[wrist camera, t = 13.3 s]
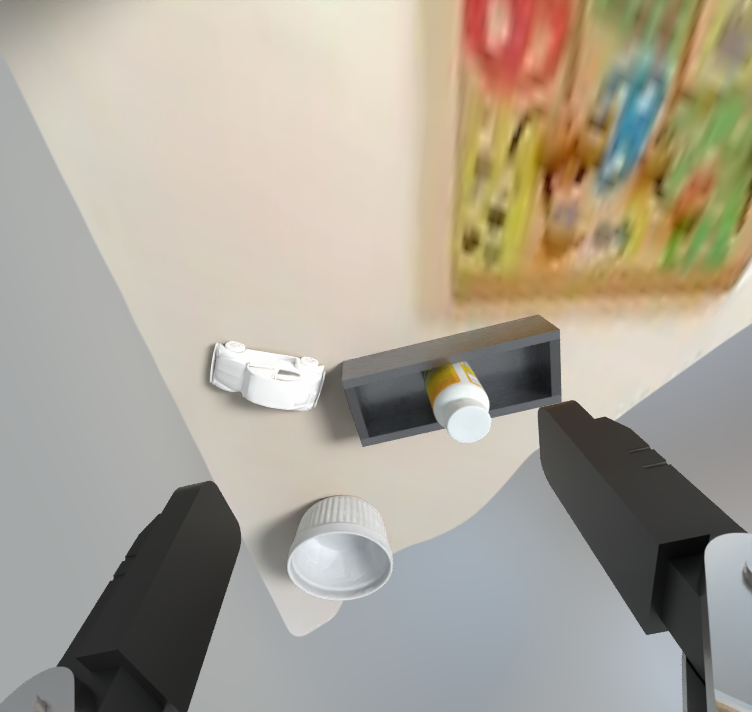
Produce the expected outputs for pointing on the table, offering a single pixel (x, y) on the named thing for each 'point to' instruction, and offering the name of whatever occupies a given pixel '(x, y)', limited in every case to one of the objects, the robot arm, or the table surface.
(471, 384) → the supplement bottle
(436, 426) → the open rectangular box
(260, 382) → the car
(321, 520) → the ramekin
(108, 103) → the table surface
